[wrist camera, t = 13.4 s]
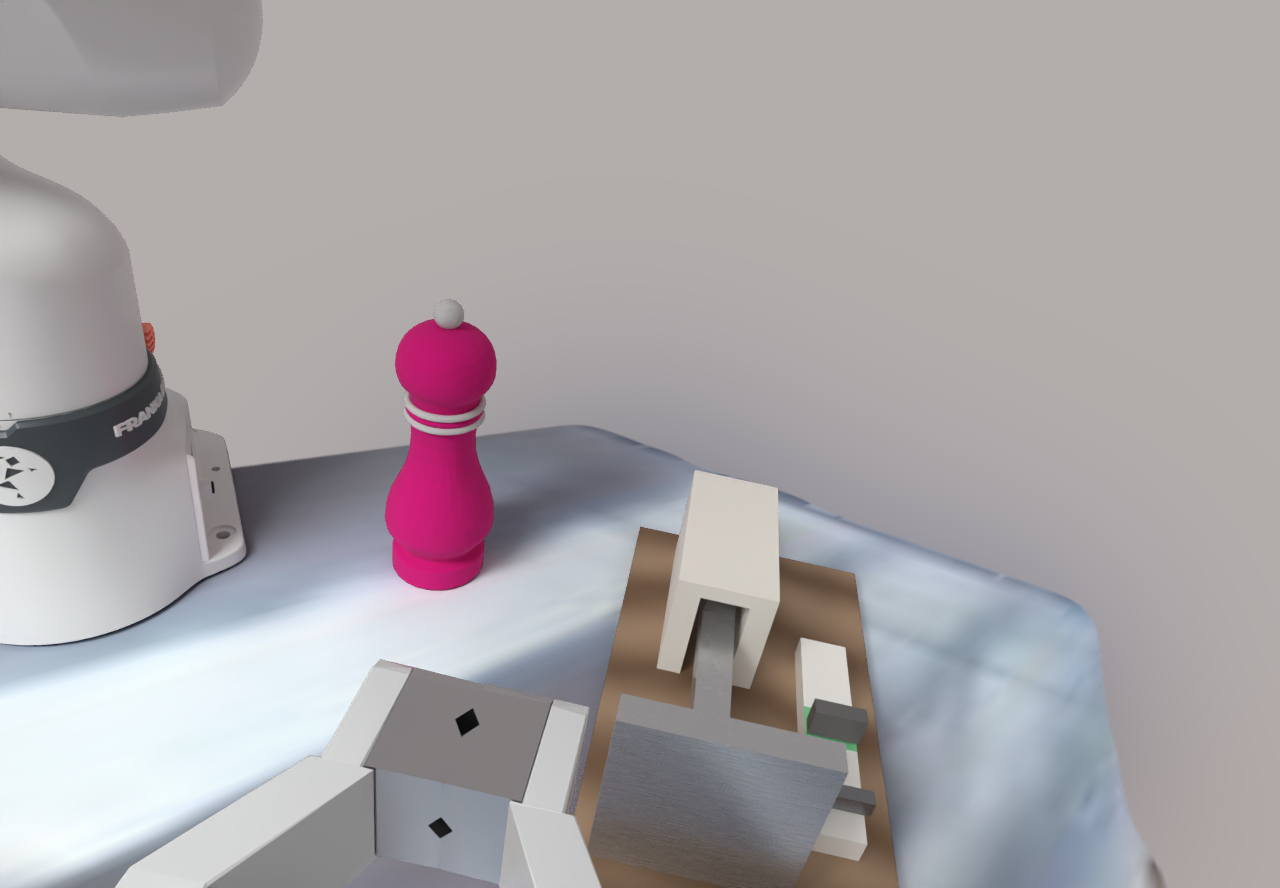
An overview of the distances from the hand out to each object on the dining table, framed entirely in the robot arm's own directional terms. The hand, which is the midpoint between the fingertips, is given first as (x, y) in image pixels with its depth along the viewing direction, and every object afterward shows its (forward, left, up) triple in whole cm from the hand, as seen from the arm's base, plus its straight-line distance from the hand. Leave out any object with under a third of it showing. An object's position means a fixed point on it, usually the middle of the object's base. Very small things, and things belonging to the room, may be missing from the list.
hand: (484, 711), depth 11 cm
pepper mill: (-37, +4, -30) cm, 48 cm away
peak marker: (-17, +24, -27) cm, 40 cm away
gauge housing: (-29, +21, -29) cm, 46 cm away
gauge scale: (-17, +24, -29) cm, 41 cm away
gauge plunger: (-19, +19, -28) cm, 39 cm away
